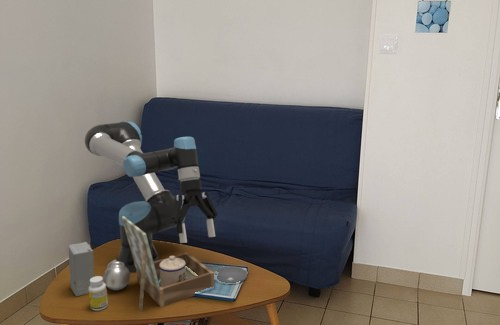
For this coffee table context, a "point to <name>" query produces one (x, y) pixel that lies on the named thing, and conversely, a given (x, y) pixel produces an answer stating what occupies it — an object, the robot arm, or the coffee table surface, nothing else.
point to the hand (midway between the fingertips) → (198, 239)
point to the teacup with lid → (172, 271)
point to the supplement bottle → (98, 293)
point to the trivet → (231, 274)
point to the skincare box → (80, 267)
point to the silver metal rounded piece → (116, 275)
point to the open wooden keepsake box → (151, 271)
